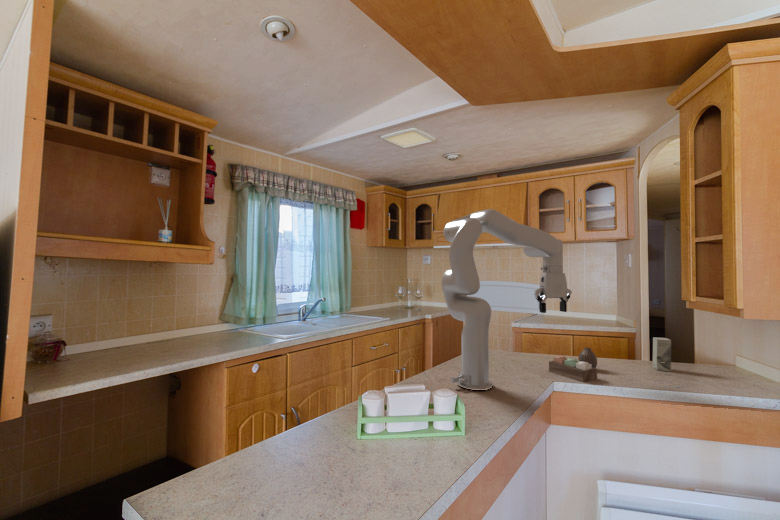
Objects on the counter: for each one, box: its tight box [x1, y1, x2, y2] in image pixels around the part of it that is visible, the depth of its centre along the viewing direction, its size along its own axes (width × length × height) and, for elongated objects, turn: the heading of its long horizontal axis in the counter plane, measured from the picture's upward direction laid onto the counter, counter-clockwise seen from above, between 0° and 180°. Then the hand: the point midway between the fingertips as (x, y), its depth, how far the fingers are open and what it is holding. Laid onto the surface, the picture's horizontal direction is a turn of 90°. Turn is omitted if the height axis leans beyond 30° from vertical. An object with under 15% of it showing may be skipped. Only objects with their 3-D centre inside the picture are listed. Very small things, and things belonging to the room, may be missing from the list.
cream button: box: [576, 361, 592, 370], centre depth 136 cm, size 4×4×3 cm
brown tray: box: [548, 360, 598, 383], centre depth 140 cm, size 8×15×4 cm, turn 26°
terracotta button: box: [553, 355, 569, 364], centre depth 145 cm, size 4×4×3 cm
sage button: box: [565, 358, 580, 367], centre depth 140 cm, size 4×4×3 cm
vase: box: [577, 346, 598, 368], centre depth 148 cm, size 7×7×9 cm
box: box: [652, 336, 672, 372], centre depth 148 cm, size 5×4×13 cm
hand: (553, 311), depth 145 cm, fingers open, 9 cm apart
